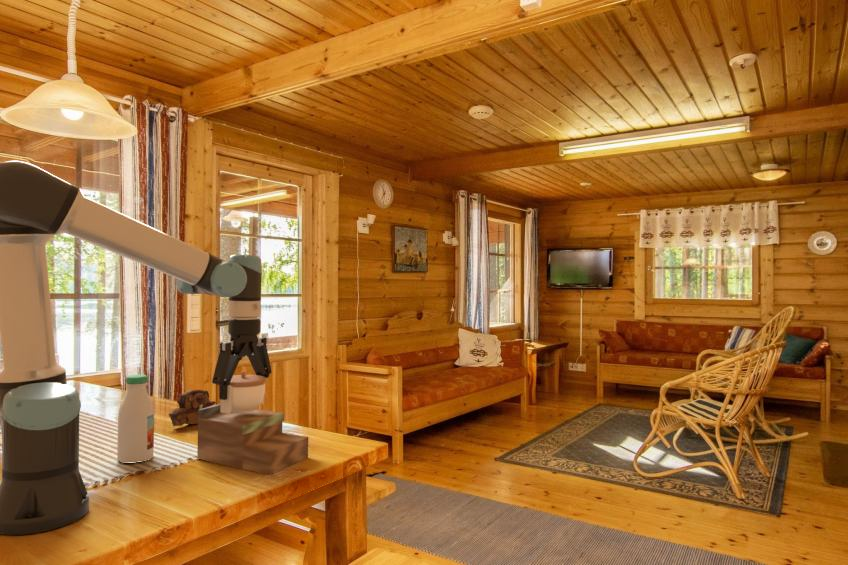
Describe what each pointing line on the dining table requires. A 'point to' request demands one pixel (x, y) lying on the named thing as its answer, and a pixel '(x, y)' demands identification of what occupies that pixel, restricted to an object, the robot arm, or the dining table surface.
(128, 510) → the dining table surface
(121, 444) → the milk bottle
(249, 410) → the lidded jar
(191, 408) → the wooden carving
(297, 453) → the stepped stand
